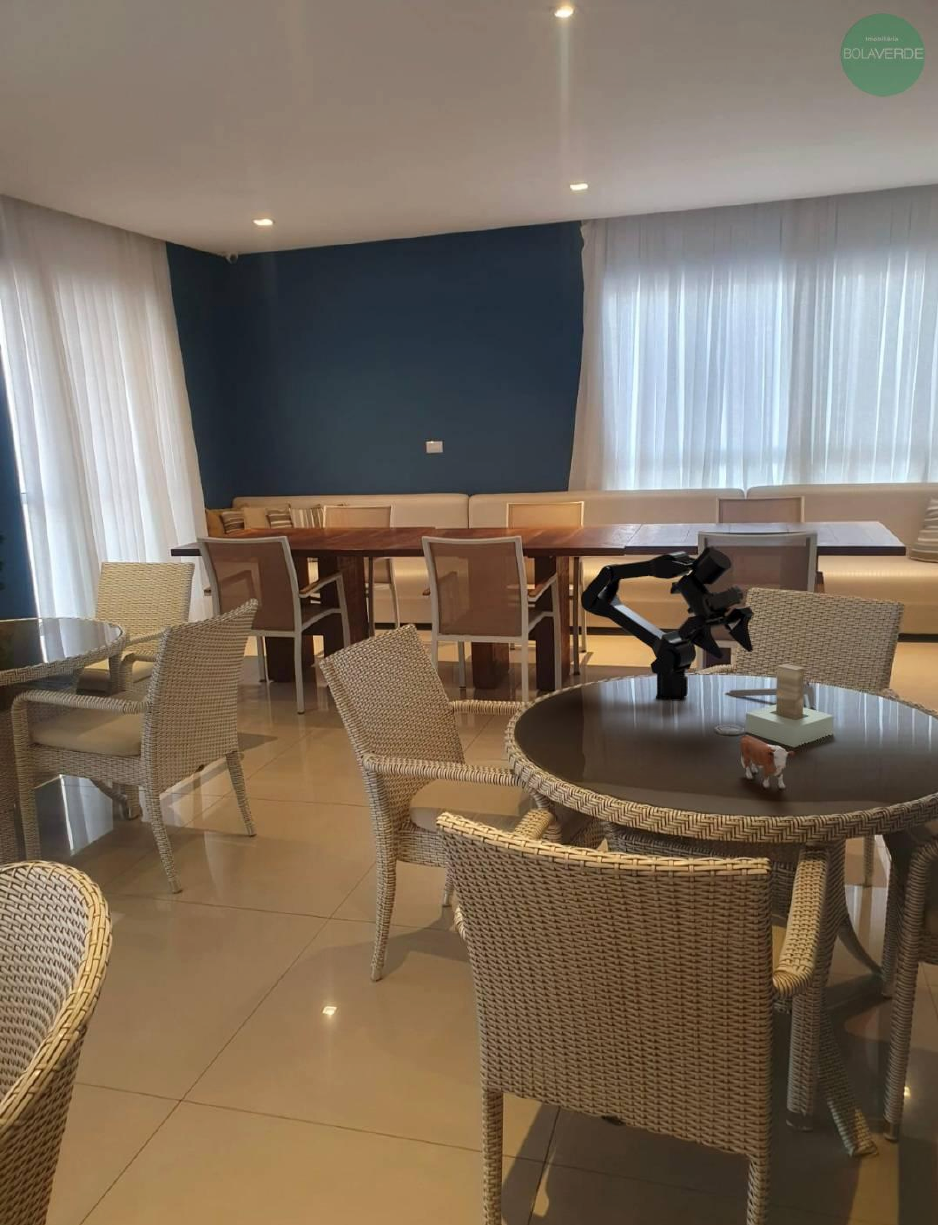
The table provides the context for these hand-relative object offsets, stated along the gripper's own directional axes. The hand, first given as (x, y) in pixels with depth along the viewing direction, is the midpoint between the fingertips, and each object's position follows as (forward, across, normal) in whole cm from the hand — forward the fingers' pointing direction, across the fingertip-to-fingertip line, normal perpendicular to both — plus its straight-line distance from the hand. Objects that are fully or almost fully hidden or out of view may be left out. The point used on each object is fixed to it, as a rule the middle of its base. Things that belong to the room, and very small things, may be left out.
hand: (736, 654), depth 189 cm
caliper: (+8, +14, +12) cm, 20 cm away
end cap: (+20, -1, -1) cm, 20 cm away
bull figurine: (+30, -25, -11) cm, 41 cm away
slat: (+19, -1, -2) cm, 19 cm away
